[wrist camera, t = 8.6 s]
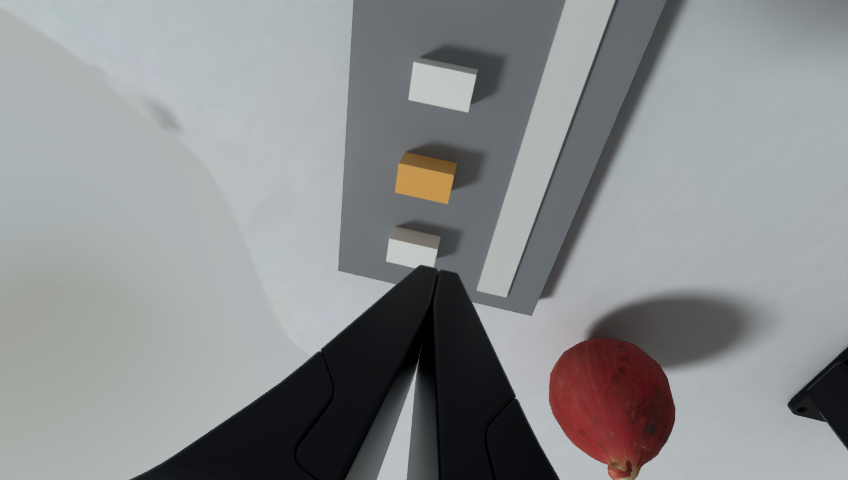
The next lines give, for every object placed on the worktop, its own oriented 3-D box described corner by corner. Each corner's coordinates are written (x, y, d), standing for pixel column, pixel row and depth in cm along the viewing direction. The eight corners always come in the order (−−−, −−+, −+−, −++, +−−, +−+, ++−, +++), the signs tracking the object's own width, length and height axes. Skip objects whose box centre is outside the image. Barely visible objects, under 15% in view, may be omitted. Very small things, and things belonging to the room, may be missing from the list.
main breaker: (457, 163, 18) (453, 175, 17) (450, 190, 19) (447, 204, 18) (405, 151, 18) (398, 163, 17) (401, 179, 19) (394, 192, 18)
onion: (602, 289, 22) (646, 422, 15) (670, 345, 23) (739, 492, 16) (523, 341, 25) (531, 472, 18) (587, 389, 26) (617, 527, 19)
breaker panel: (698, -104, 13) (733, -120, 11) (530, 301, 23) (532, 331, 21) (373, -162, 14) (351, -188, 12) (345, 258, 24) (330, 283, 22)
